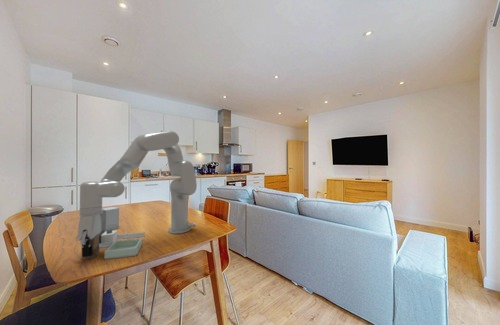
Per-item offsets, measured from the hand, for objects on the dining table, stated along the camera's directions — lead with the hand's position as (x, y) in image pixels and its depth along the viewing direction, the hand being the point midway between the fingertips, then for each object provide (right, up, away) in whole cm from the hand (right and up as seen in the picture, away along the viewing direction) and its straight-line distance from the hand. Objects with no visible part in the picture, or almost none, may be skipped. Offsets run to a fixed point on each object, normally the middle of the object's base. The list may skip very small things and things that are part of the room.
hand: (90, 252), depth 84 cm
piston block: (-3, -2, +15) cm, 15 cm away
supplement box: (-18, -2, +36) cm, 41 cm away
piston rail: (+2, -2, +16) cm, 17 cm away
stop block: (0, -2, 0) cm, 2 cm away
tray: (+12, -2, +5) cm, 13 cm away
